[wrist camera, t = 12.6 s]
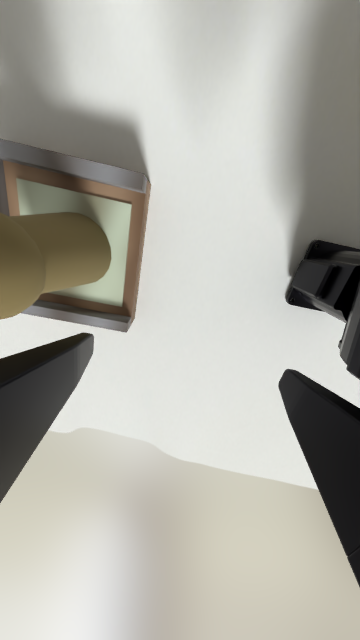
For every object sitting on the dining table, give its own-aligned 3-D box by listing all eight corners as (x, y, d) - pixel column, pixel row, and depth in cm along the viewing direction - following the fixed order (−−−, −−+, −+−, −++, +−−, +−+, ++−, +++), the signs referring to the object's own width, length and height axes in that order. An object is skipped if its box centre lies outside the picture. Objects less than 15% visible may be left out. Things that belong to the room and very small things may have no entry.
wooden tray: (150, 184, 17) (143, 173, 14) (134, 318, 22) (126, 332, 19) (8, 150, 16) (-34, 130, 13) (25, 297, 21) (-3, 308, 18)
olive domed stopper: (82, 296, 19) (-28, 366, 9) (28, 246, 17) (-187, 262, 7) (125, 254, 18) (49, 281, 7) (70, 194, 16) (-130, 120, 6)
